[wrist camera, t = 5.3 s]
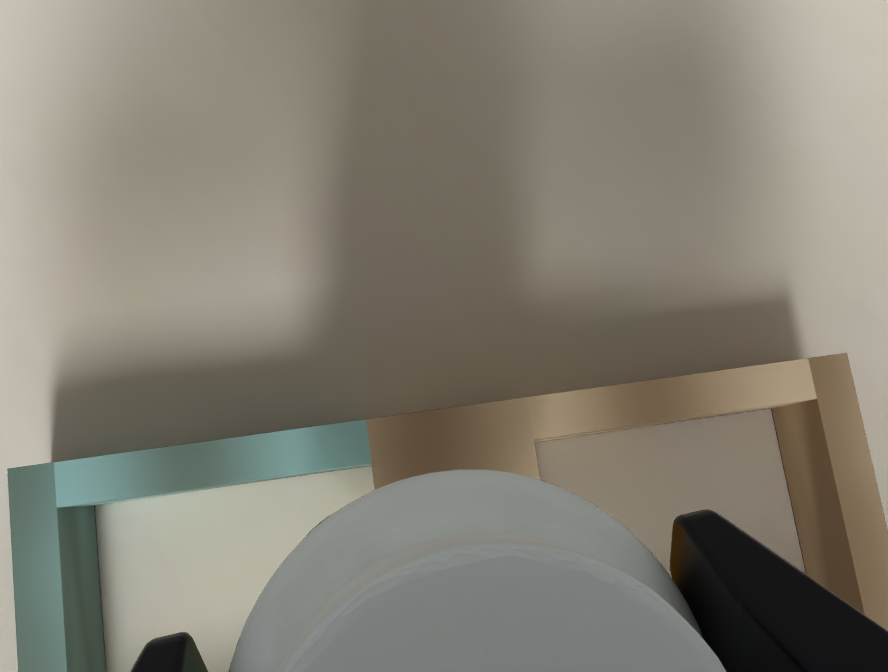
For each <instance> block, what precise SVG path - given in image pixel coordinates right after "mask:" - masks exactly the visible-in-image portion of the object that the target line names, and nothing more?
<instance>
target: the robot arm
mask: <svg viewBox="0 0 888 672" xmlns="http://www.w3.org/2000/svg"><path fill="white" fill-rule="evenodd" d="M670 571H671V576H672V579H673V581H674V582H675V584H676V585H677V587H678V589H679V590H680V592H681V593H682V595H683V597H684V598H685V600H686V602H687V603H688V605H689V607H690V609H691V611H692V613H693V615H694V617H695V619H696V621H697V623H698V625H699V628H700V631H701V633H702V636H703V639H704V641H705V642H706V643H707V644H708V645H709V647H710V648H711V649H712V650H713V652H714V653H715V654H716V656H717V657H718V658H719V660H720V662H721V663H722V665H723V667H724V668H725V670H726V672H888V630H886V629H885V628H883V627H882V626H880V625H879V624H877V623H876V622H875V621H873V620H872V619H870V618H869V617H867V616H866V615H864V614H863V613H861V612H860V611H859V610H857V609H856V608H854V607H853V606H851V605H850V604H848V603H847V602H845V601H844V600H843V599H841V598H840V597H838V596H837V595H835V594H834V593H832V592H831V591H830V590H828V589H827V588H825V587H824V586H822V585H821V584H819V583H818V582H816V581H815V580H814V579H812V578H811V577H809V576H808V575H806V574H805V573H803V572H802V571H801V570H799V569H798V568H796V567H795V566H793V565H792V564H790V563H789V562H787V561H786V560H785V559H783V558H782V557H780V556H779V555H777V554H776V553H774V552H773V551H771V550H770V549H769V548H767V547H766V546H764V545H763V544H761V543H760V542H758V541H757V540H756V539H754V538H753V537H751V536H750V535H748V534H747V533H745V532H744V531H742V530H741V529H740V528H738V527H737V526H735V525H734V524H732V523H731V522H729V521H728V520H727V519H725V518H724V517H722V516H721V515H719V514H718V513H716V512H714V511H711V510H700V511H696V512H692V513H688V514H683V515H680V516H678V517H677V518H676V519H675V520H674V523H673V530H672V543H671V556H670ZM131 672H208V671H207V668H206V666H205V664H204V662H203V660H202V658H201V655H200V653H199V651H198V649H197V647H196V644H195V642H194V640H193V638H192V637H191V636H190V635H189V634H188V633H186V632H180V633H176V634H172V635H168V636H163V637H159V638H155V639H153V640H151V641H150V642H148V643H147V644H146V646H145V647H144V648H143V650H142V652H141V654H140V655H139V657H138V659H137V661H136V663H135V664H134V666H133V668H132V670H131Z"/></svg>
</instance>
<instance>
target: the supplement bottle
mask: <svg viewBox="0 0 888 672" xmlns="http://www.w3.org/2000/svg"><path fill="white" fill-rule="evenodd" d="M229 672H726V670H725V668H724V667H723V665H722V663H721V662H720V660H719V658H718V657H717V656H716V654H715V653H714V652H713V650H712V649H711V648H710V647H709V645H708V644H707V643H706V642H705V641H704V639H703V636H702V633H701V631H700V628H699V625H698V623H697V621H696V619H695V617H694V615H693V613H692V611H691V609H690V607H689V605H688V603H687V602H686V600H685V598H684V597H683V595H682V593H681V592H680V590H679V589H678V587H677V585H676V584H675V582H674V581H673V579H672V578H671V577H670V575H669V574H668V573H667V571H666V570H665V568H664V567H663V566H662V565H661V563H660V562H659V561H658V560H657V559H656V558H655V556H654V555H653V554H652V553H651V552H650V551H649V549H648V548H647V547H646V546H645V545H644V544H643V543H642V542H641V541H640V540H639V539H638V538H637V537H636V536H635V535H634V534H633V533H631V532H630V531H629V530H628V529H627V528H626V527H624V526H623V525H622V524H621V523H619V522H618V521H617V520H616V519H614V518H613V517H611V516H610V515H609V514H607V513H606V512H604V511H603V510H602V509H600V508H598V507H597V506H595V505H593V504H592V503H590V502H588V501H587V500H585V499H583V498H581V497H580V496H578V495H576V494H574V493H571V492H569V491H567V490H565V489H562V488H560V487H558V486H555V485H552V484H549V483H547V482H544V481H541V480H538V479H535V478H531V477H527V476H523V475H519V474H514V473H509V472H502V471H494V470H451V471H442V472H433V473H428V474H424V475H419V476H414V477H410V478H407V479H403V480H400V481H396V482H393V483H391V484H388V485H386V486H383V487H381V488H378V489H376V490H374V491H372V492H370V493H368V494H366V495H365V496H363V497H361V498H359V499H357V500H355V501H353V502H351V503H350V504H348V505H346V506H345V507H343V508H341V509H340V510H338V511H336V512H335V513H333V514H332V515H330V516H328V517H327V518H326V519H324V520H323V521H321V522H320V523H319V524H318V525H317V526H316V527H315V528H313V529H312V530H311V531H310V532H309V533H308V534H307V536H306V537H305V538H304V539H303V540H302V541H301V542H300V543H299V544H298V545H297V547H296V548H295V549H294V550H293V551H292V552H291V553H290V554H289V555H288V556H287V557H286V559H285V560H284V561H283V563H282V564H281V565H280V566H279V568H278V569H277V570H276V572H275V573H274V574H273V576H272V577H271V579H270V580H269V582H268V583H267V585H266V586H265V588H264V590H263V591H262V593H261V594H260V596H259V598H258V600H257V602H256V603H255V605H254V607H253V609H252V611H251V613H250V615H249V617H248V619H247V620H246V623H245V625H244V628H243V630H242V633H241V635H240V638H239V640H238V643H237V646H236V649H235V652H234V656H233V659H232V662H231V665H230V669H229Z"/></svg>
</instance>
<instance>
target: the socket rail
mask: <svg viewBox="0 0 888 672" xmlns="http://www.w3.org/2000/svg"><path fill="white" fill-rule="evenodd" d="M769 408H772V413H773V418H774V422H775V427H776V432H777V437H778V441H779V446H780V451H781V455H782V460H783V465H784V470H785V474H786V479H787V484H788V489H789V493H790V498H791V503H792V508H793V512H794V517H795V522H796V526H797V531H798V536H799V541H800V545H801V550H802V555H803V560H804V564H805V569H806V574H807V575H808V576H809V577H811V578H812V579H814V580H815V581H816V582H818V583H819V584H821V585H822V586H824V587H825V588H827V589H828V590H830V591H831V592H832V593H834V594H835V595H837V596H838V597H840V598H841V599H843V600H844V601H845V602H847V603H848V604H850V605H851V606H853V607H854V608H856V609H857V610H859V611H860V612H861V613H863V614H864V615H866V616H867V617H869V618H870V619H872V620H873V621H875V622H876V623H877V624H879V625H880V626H882V627H883V628H885V629H886V630H888V531H887V526H886V522H885V517H884V513H883V509H882V504H881V500H880V496H879V491H878V487H877V483H876V478H875V474H874V469H873V465H872V461H871V456H870V452H869V448H868V443H867V439H866V435H865V430H864V426H863V422H862V417H861V413H860V408H859V404H858V400H857V395H856V391H855V387H854V382H853V378H852V374H851V369H850V365H849V360H848V356H847V353H842V354H835V355H828V356H821V357H813V358H806V359H799V360H792V361H784V362H777V363H770V364H763V365H755V366H748V367H741V368H734V369H727V370H719V371H712V372H705V373H698V374H690V375H683V376H676V377H669V378H661V379H654V380H647V381H640V382H632V383H625V384H618V385H611V386H603V387H596V388H589V389H582V390H574V391H567V392H560V393H553V394H545V395H538V396H531V397H524V398H516V399H509V400H502V401H495V402H487V403H480V404H473V405H466V406H458V407H451V408H444V409H437V410H429V411H422V412H415V413H408V414H400V415H393V416H386V417H379V418H371V419H364V420H357V421H350V422H342V423H335V424H328V425H321V426H313V427H306V428H299V429H292V430H284V431H277V432H270V433H263V434H256V435H248V436H241V437H234V438H227V439H219V440H212V441H205V442H198V443H190V444H183V445H176V446H169V447H161V448H154V449H147V450H140V451H132V452H125V453H118V454H111V455H103V456H96V457H89V458H82V459H74V460H67V461H60V462H53V463H45V464H38V465H31V466H24V467H16V468H9V469H7V470H8V488H9V507H10V526H11V544H12V563H13V582H14V600H15V619H16V638H17V657H18V672H106V666H105V652H104V638H103V624H102V609H101V595H100V581H99V567H98V553H97V539H96V524H95V510H94V505H100V504H107V503H114V502H121V501H128V500H135V499H142V498H149V497H155V496H162V495H169V494H176V493H183V492H190V491H197V490H204V489H211V488H218V487H225V486H232V485H239V484H246V483H253V482H260V481H267V480H274V479H281V478H288V477H295V476H302V475H309V474H316V473H323V472H330V471H337V470H344V469H351V468H358V467H365V466H372V469H373V477H374V485H375V490H376V489H378V488H381V487H383V486H386V485H388V484H391V483H393V482H396V481H400V480H403V479H407V478H410V477H414V476H419V475H424V474H428V473H433V472H442V471H451V470H494V471H502V472H509V473H514V474H519V475H523V476H527V477H531V478H535V479H538V480H540V475H539V469H538V463H537V457H536V451H535V444H534V442H539V441H546V440H553V439H560V438H567V437H574V436H581V435H588V434H595V433H602V432H609V431H616V430H623V429H630V428H637V427H644V426H651V425H658V424H665V423H672V422H679V421H686V420H693V419H700V418H707V417H714V416H721V415H728V414H734V413H741V412H748V411H755V410H762V409H769Z"/></svg>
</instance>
